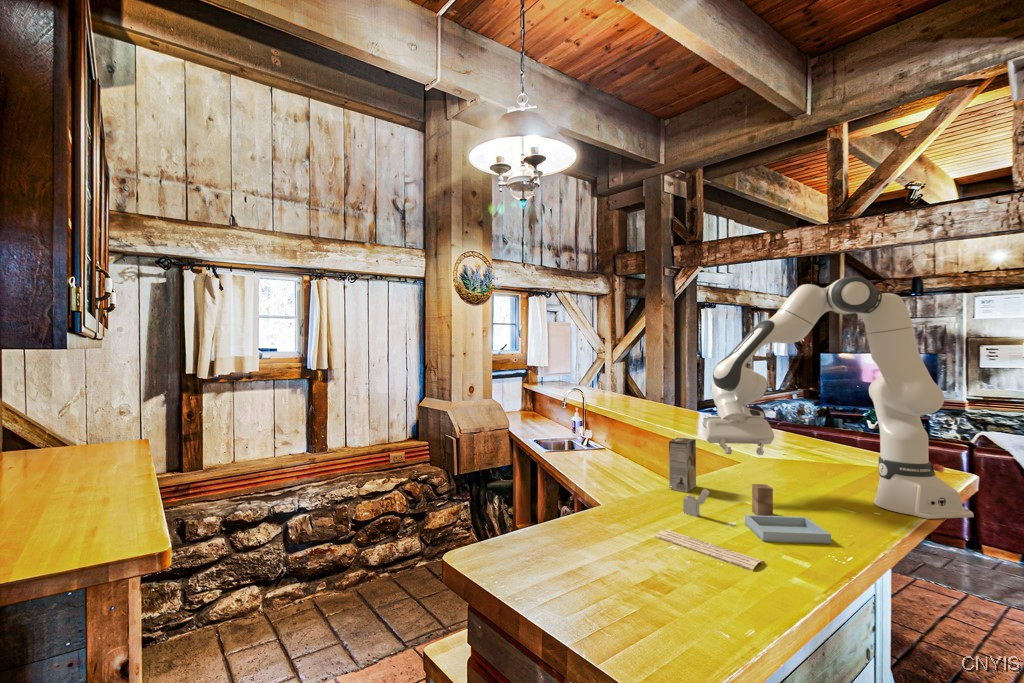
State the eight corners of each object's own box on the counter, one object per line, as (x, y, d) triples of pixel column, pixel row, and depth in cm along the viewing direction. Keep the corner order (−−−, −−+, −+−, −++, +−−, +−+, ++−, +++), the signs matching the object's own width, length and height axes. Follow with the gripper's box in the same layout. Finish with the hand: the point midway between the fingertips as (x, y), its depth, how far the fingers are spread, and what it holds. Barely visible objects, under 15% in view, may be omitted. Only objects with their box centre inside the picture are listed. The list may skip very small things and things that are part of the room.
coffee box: (677, 483, 167) (677, 436, 167) (696, 486, 163) (696, 439, 163) (668, 489, 159) (668, 441, 159) (688, 492, 155) (688, 443, 156)
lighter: (682, 513, 137) (683, 484, 137) (686, 511, 138) (686, 483, 138) (706, 519, 131) (706, 490, 131) (709, 518, 132) (709, 489, 132)
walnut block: (766, 512, 137) (766, 484, 137) (772, 517, 133) (772, 488, 133) (752, 511, 138) (752, 483, 138) (757, 516, 134) (757, 488, 134)
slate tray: (806, 526, 127) (806, 517, 127) (831, 544, 115) (830, 534, 115) (744, 523, 128) (744, 514, 128) (763, 541, 117) (763, 531, 117)
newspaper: (655, 540, 119) (655, 533, 119) (670, 533, 124) (670, 526, 124) (753, 574, 101) (752, 566, 101) (766, 564, 106) (766, 556, 106)
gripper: (702, 411, 157) (712, 447, 147) (768, 412, 155) (782, 448, 145) (699, 422, 161) (708, 458, 152) (762, 423, 159) (775, 460, 150)
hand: (744, 453), depth 148 cm, fingers open, 8 cm apart
